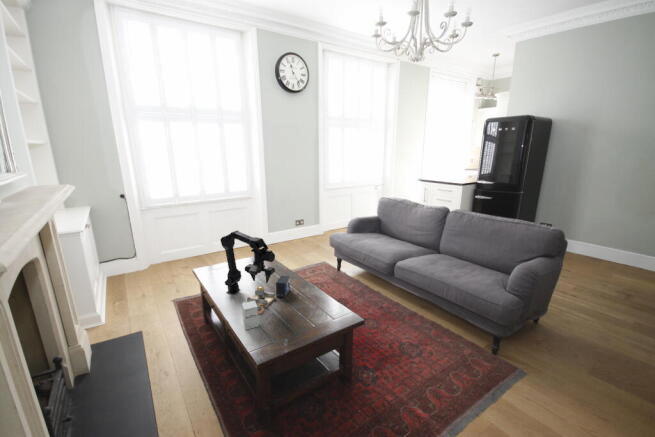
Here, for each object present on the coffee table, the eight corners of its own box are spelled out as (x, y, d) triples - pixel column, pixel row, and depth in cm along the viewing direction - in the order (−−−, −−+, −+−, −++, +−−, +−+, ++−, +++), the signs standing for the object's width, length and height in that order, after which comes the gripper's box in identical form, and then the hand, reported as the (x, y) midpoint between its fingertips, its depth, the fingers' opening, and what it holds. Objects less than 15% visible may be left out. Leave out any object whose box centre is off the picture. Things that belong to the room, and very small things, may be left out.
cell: (256, 300, 189) (255, 288, 187) (260, 296, 193) (259, 285, 191) (262, 301, 187) (261, 289, 185) (266, 297, 191) (265, 286, 189)
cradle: (246, 303, 187) (246, 298, 186) (256, 294, 198) (256, 289, 197) (266, 307, 183) (265, 302, 182) (275, 297, 194) (275, 292, 193)
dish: (247, 313, 176) (247, 308, 175) (254, 306, 184) (254, 301, 183) (259, 316, 174) (258, 310, 173) (266, 309, 181) (266, 303, 180)
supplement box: (245, 330, 161) (243, 309, 158) (243, 322, 168) (241, 302, 165) (259, 327, 164) (257, 306, 161) (256, 319, 171) (255, 300, 167)
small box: (285, 297, 194) (284, 283, 191) (276, 296, 195) (275, 282, 192) (290, 290, 204) (290, 275, 201) (281, 289, 205) (280, 275, 202)
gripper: (238, 261, 179) (240, 285, 183) (265, 266, 173) (267, 290, 177) (248, 255, 189) (250, 277, 193) (275, 258, 183) (276, 282, 187)
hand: (260, 281), depth 188 cm, fingers open, 9 cm apart
